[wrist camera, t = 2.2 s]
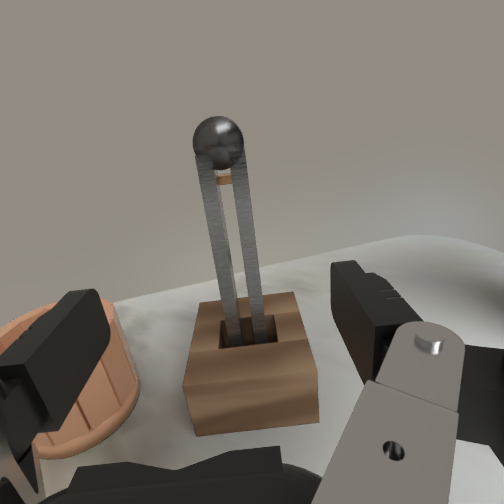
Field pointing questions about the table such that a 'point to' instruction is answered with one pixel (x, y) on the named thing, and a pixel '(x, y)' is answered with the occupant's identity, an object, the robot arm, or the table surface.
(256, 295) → the tongs
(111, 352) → the crock
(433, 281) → the table surface
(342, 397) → the table surface
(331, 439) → the table surface
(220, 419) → the tongs stand
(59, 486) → the table surface
